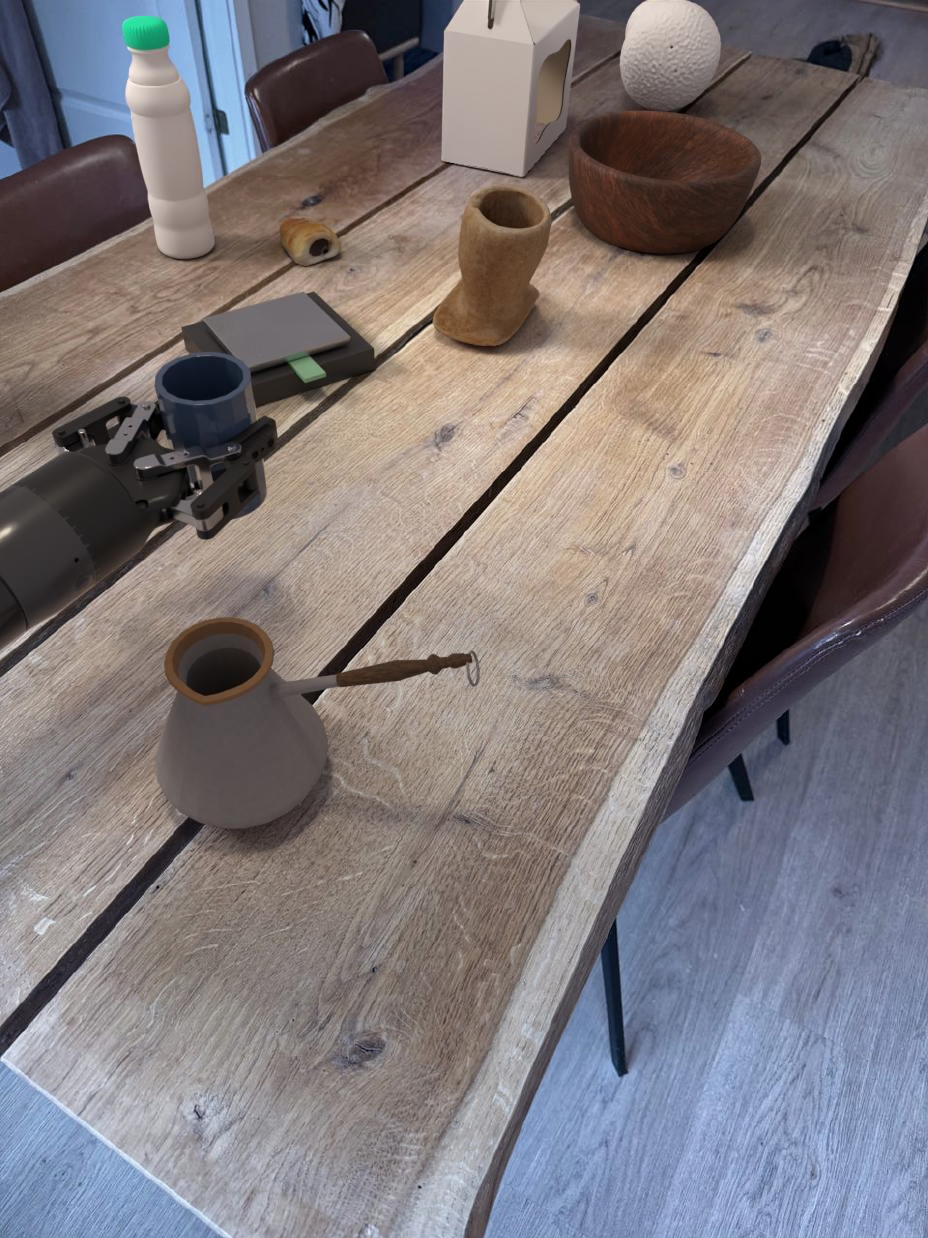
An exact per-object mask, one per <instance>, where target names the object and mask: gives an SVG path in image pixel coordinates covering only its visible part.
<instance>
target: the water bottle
mask: <svg viewBox="0 0 928 1238" xmlns="http://www.w3.org/2000/svg"><path fill="white" fill-rule="evenodd" d="M121 25H122V26H121V29H122V35H123V39H124V43H125V45H126V49H127V50H128V51H129V52H130V53H131V57H132V58H131V63H130V66H129V69H128V78H127V81H126V85H125V91H124V92H125V93H124V94H125V102H126V105H127V107H128V108H129V111H130V117H131V126H132V132H133V137H134V143H135V148H136V152H137V157H138V161H139V166H140V169H141V174H142V177H143V180H144V185H145V187H146V190H147V202H148V206H149V212H150V215H151V217H152V220H153V230H154V236H155V242H156V246H157V248H158V250H159V251H160V252H161V253H162V254H163V255H165V256H166V257H170V258H172V259H178V260H191V259H196V258H200V257H203V256H204V255H207V254H208V253H209V252H211V250H213V249H214V246H215V234H214V230H213V225H212V221H211V219H210V207H209V199H208V195H207V192H206V189H205V188H204V175H203V165H202V160H201V153H200V146H199V141H198V135H197V131H196V130H197V129H196V126H195V121H194V115H193V113H192V109H191V102H192V99H191V93H190V89H189V87H188V86H187V84H186V82H185V81H184V79H183V78H182V76H181V75H180V73H179V70H178V68H177V66H176V65H175V63H173V61H172V60H171V58H170V57H169V49H170V47H171V45H170V42H171V41H170V32H169V28H168V25H167V22H165V20H164V19H163V18H160V17H158V16H154V15H135V16H131V17H128V18H126V19H125V20H124V21H123V22H122V24H121Z"/></svg>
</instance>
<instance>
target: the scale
mask: <svg viewBox="0 0 928 1238" xmlns="http://www.w3.org/2000/svg"><path fill="white" fill-rule="evenodd" d="M305 293H306V292H305ZM306 294H307V295H308V296H309V297H310V298H311V299H312V300H313V301H314V302H315V303H316V304H317V305H318V306H319V307H320V308H321V309H322V310H323V311H324V312H325V313H326V314H327V315H328V316H329V317H330V318H332V319H333V320H334V321H335V322H336V323H337V324H338V325H339V326H340V327H341V328H342V329H343V330H344V331H345V332H346V333H347V334H348V335H349V336H350V340H351V343H349V344H346V345H342V346H339V347H336V348H332V349H329V350H325V351H322V352H319V353H315V354H312V355H309V356H305V357H302V358H299V359H295V360H292V361H289V362H285V363H282V364H279V365H275V366H272V367H269V368H265V369H262V370H259V371H255V372H252V373H251V379H252V386H253V393H254V399H255V406H256V408H257V407H260V406H263V405H267V404H270V403H272V402H276V401H280V400H283V399H286V398H290V397H292V396H295V395H298V394H301V393H305V392H307V391H312V390H315V389H316V388H317V389H318V388H321V387H324V386H326V385H327V386H328V385H330V384H333V383H336V382H339V381H342V380H346V379H349V378H352V377H355V376H359V375H362V374H365V373H368V372H371V371H374V370H376V360H375V359H376V357H375V347H374V346H372V345H371V344H370V343H369V342H368V341H367V339H365V338H364V337H363V335H361V334H360V333H359V331H357V330H356V329H355V328H353V327H352V326H351V324H349V323H348V322H347V321H346V320H345V319H344V318H343V317H342V316H341V315H340V314H339V313H338V312H337V311H336V310H335V309H334V308H332V306H331V305H330V304H328V303H327V302H326V301H325V300H324V299H323V298H322V297H321V296H320V295H319V294H318V293H316V291H311V292H310V291H309V292H307V293H306ZM180 328H181V333H182V338H183V343H184V347H185V350H186V351H187V352H188V354H192V353H200V352H217V353H223V354H228V353H227V352H226V350H225V349H224V348H223V347H222V346H221V345H220V343H219V342H218V341H217V340H216V339H215V338H214V336H213V335H212V334H211V333H210V332H209V331H208V329H207V328H206V327H205V326H204V325H203V320H202V321H199V322H194V323H191V324H188V325H184V326H181V327H180Z"/></svg>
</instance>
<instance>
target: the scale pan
mask: <svg viewBox="0 0 928 1238" xmlns="http://www.w3.org/2000/svg"><path fill="white" fill-rule="evenodd" d="M201 320H202V321H203V325H204V326H205V327H206V328H207V329H208V331H209V332H210V333H211V334H212V335H213V336H214V338H215V339H216V340H217V341H218V342H219V343H220V345H221V346H222V347H223V348H224V349H225V350H226V352H227V353H228V354H229V355H231V356H233V357H236V358H238V359H240V360H242V361H243V362H244V363H245V364H246V366H247V367H248V368H249V369H250V372H251V373H252V372H255V371H259V370H262V369H265V368H269V367H272V366H275V365H279V364H282V363H285V362H289V361H292V360H295V359H299V358H302V357H305V356H309V355H312V354H315V353H319V352H322V351H325V350H329V349H332V348H336V347H339V346H342V345H346V344H349V343H351V340H350V336H349V335H348V334H347V333H346V332H345V331H344V330H343V329H342V328H341V327H340V326H339V325H338V324H337V323H336V322H335V321H334V320H333V319H332V318H330V317H329V316H328V315H327V314H326V313H325V312H324V311H323V310H322V309H321V308H320V307H319V306H318V305H317V304H316V303H315V302H314V301H313V300H312V299H311V298H310V297H309V296H308V295H307V294H306V292H305V291H300V292H296V293H291V294H288V295H285V296H281V297H278V298H273V299H269V300H266V301H263V302H259V303H255V304H251V305H247V306H244V307H240V308H236V309H233V310H229V311H225V312H221V313H217V314H214V315H210V316H207V317H202V319H201Z"/></svg>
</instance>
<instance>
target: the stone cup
mask: <svg viewBox="0 0 928 1238" xmlns="http://www.w3.org/2000/svg"><path fill="white" fill-rule="evenodd" d="M552 220H553V219H552V213H551V211H550V208H549V206H548V205H547V203H546V202H545V201H544V200H543V198H541V197H540V196H538V195H537V194H536V193H534V192H533V191H531V190H529V189H527V188H524V187H523V186H519V185H515V184H508V183H503V184H502V183H501V184H489V185H486V186H484V187H482V188H480V189H479V190H477V191H476V192H474V194H472V196H471V197H470V199H469V200H468V202H467V204H466V206H465V208H464V211H463V214H462V218H461V223H460V230H459V235H458V247H457V248H458V249H457V251H458V252H457V255H458V256H457V259H458V266H459V269H460V275H461V278H460V279H459V281H458V282H457V283H456V285H455V286H454V287H453V288H452V289H451V290H450V292H448V294H447V295H446V296H445V298H443V300H442V301H441V303H440V304H439V305H438V307H437V309H436V310H435V312H434V314H433V318H432V325H433V327H434V329H435V330H436V331H437V332H438V333H440V334H442V335H443V336H445V337H447V338H450V339H452V340H455V341H458V342H461V343H464V344H470V345H474V346H483V347H485V346H491V347H496V346H500V345H503V344H505V343H506V342H507V341H509V340H510V339H511V338H512V337H513V336H514V335H515V334H516V333H517V332H518V331H519V330H520V328H521V327H522V325H523V323H524V322H525V320H526V319H527V317H528V315H529V314H530V312H531V311H532V309H533V307H534V306H535V304H536V302H537V301H538V299H539V297H540V291H539V290H538V288H537V287H536V286H535V285H534V284H532V283H530V282H531V280H532V278H533V276H534V275H535V273H536V271H537V270H538V267H539V265H540V264H541V261H542V259H543V257H544V256H545V253H546V251H547V248H548V244H549V240H550V233H551V230H552V223H553V221H552Z"/></svg>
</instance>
